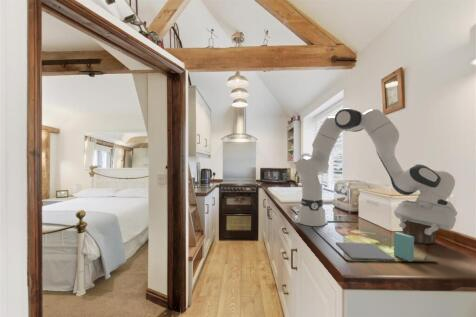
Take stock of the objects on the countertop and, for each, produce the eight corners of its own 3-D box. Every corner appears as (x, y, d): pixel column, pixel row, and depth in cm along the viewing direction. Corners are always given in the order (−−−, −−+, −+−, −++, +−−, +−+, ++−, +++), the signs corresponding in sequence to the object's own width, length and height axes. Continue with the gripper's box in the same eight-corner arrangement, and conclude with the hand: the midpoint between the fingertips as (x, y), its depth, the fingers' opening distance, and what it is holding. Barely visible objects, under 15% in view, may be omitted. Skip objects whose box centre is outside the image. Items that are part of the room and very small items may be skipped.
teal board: (397, 254, 94) (398, 232, 94) (413, 260, 89) (414, 236, 89) (393, 255, 93) (394, 232, 93) (409, 261, 88) (410, 237, 88)
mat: (335, 243, 105) (335, 242, 105) (372, 244, 104) (372, 243, 104) (351, 259, 89) (351, 257, 89) (395, 260, 88) (395, 259, 88)
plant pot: (393, 232, 122) (393, 202, 122) (430, 236, 117) (431, 204, 117) (404, 243, 107) (405, 208, 107) (448, 248, 102) (448, 211, 102)
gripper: (399, 195, 106) (384, 218, 102) (456, 203, 87) (440, 232, 83) (406, 204, 107) (391, 227, 104) (462, 214, 89) (447, 243, 85)
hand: (413, 230), depth 93 cm, fingers open, 8 cm apart
